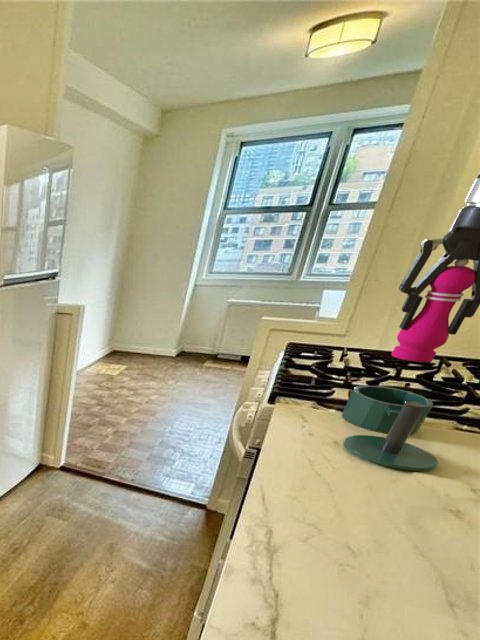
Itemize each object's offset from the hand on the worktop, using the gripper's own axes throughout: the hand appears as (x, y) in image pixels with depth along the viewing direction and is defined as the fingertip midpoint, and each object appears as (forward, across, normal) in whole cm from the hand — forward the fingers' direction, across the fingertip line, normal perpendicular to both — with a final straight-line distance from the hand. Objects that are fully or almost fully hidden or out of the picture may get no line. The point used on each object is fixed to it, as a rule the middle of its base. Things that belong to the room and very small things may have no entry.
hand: (426, 330), depth 99 cm
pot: (+21, 0, 0) cm, 21 cm away
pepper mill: (+6, 0, 0) cm, 6 cm away
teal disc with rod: (+20, -1, -19) cm, 28 cm away
